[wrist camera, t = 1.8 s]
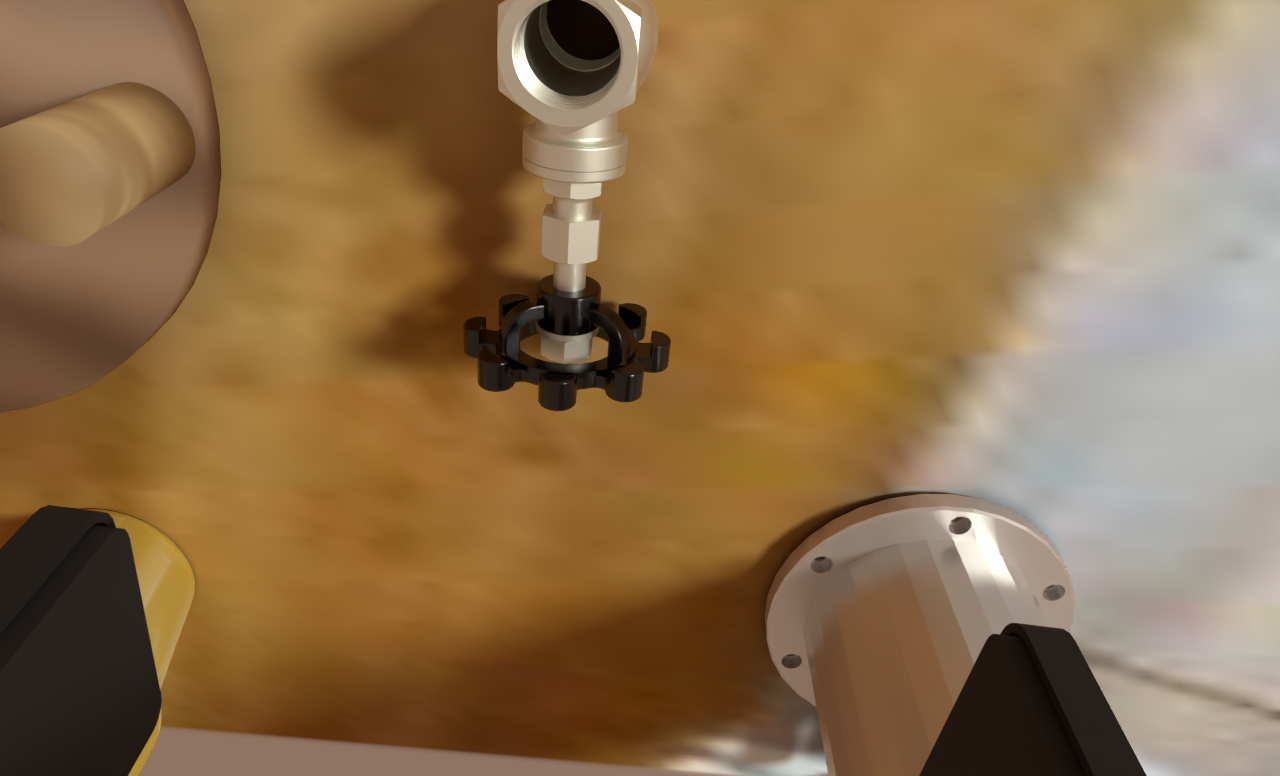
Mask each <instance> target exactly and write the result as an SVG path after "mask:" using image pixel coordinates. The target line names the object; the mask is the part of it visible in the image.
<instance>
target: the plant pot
mask: <svg viewBox="0 0 1280 776" xmlns="http://www.w3.org/2000/svg"><path fill="white" fill-rule="evenodd" d="M83 510H91V511H100V512H106V513H108V514H109V515H110V516H111V517H112V518H113V520H114V523H115V526H116V528H122V529H125V530H126V531H127V532H128V534H129V537H130V541H131V546H132V551H133V556H134V561H135V566H136V571H137V576H138V581H139V586H140V591H141V596H142V601H143V606H144V611H145V616H146V621H147V626H148V631H149V636H150V641H151V646H152V651H153V656H154V661H155V666H156V671H157V676H158V681H159V686H160V690H161V687H162V684H163V682H164V679H165V676H166V673H167V670H168V667H169V664H170V661H171V659H172V656H173V653H174V650H175V648H176V645H177V642H178V639H179V636H180V634H181V631H182V628H183V625H184V623H185V620H186V617H187V615H188V612H189V609H190V606H191V604H192V600H193V597H194V591H195V580H194V575H193V572H192V569H191V567H190V565H189V562H188V561H187V559H186V558H185V556H184V554H183V553H182V552H181V551H180V549H179V548H178V547H177V546H176V545H175V544H174V543H173V542H172V541H171V540H170V539H169V538H168V537H166V536H165V535H164V534H163V533H161V532H160V531H158V530H157V529H156V528H154V527H152V526H151V525H149V524H147V523H145V522H143V521H141V520H139V519H136V518H134V517H131V516H129V515H126V514H122V513H118V512H114V511H108V510H101V509H83ZM161 720H162V709H161V710H160V715H159V718H158V721H157V724H156V727H155V729H154V731H153V733H152V735H151V737H150V738H149V740H148V742H147V743H146V745H145V747H144V749H143V750H142V752H141V754H140V756H139V757H138V759H137V761H136V763H135V764H134V766H133V768H132V770H131V771H130V773H129V775H128V776H138V775H139V773H140V772H141V769H142V768H143V766H144V764H145V762H146V761H147V759H148V757H149V755H150V753H151V751H152V749H153V747H154V745H155V743H156V740H157V738H158V735H159V732H160V727H161Z"/></svg>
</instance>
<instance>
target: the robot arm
mask: <svg viewBox="0 0 1280 776" xmlns="http://www.w3.org/2000/svg"><path fill="white" fill-rule="evenodd" d="M1074 607H1075V597H1074V590H1073V584H1072V579H1071V577H1070V575H1069V573H1068V571H1067V569H1066V566H1065V564H1064V562H1063V560H1062V559H1061V557H1060V555H1059V554H1058V552H1057V551H1056V549H1055V548H1054V546H1053V544H1052V543H1051V541H1050V540H1049V538H1048V537H1047V536H1046V535H1045V534H1044V533H1043V532H1041V531H1040V530H1039V529H1038V528H1037V527H1036V526H1035V525H1034V524H1033V523H1032V522H1031V521H1029V520H1027V519H1026V518H1024V517H1022V516H1021V515H1019V514H1017V513H1015V512H1014V511H1012V510H1010V509H1009V508H1006V507H1003V506H1000V505H997V504H994V503H992V502H989V501H986V500H983V499H979V498H972V497H966V496H960V495H954V494H917V495H910V496H903V497H896V498H890V499H886V500H883V501H879V502H876V503H873V504H869V505H866V506H862V507H859V508H857V509H855V510H853V511H851V512H849V513H847V514H844V515H842V516H840V517H838V518H836V519H834V520H832V521H830V522H829V523H827V524H826V525H825V526H823V527H822V528H820V529H819V530H817V531H816V532H814V533H813V534H811V535H810V536H809V537H807V538H806V539H805V540H804V541H803V542H802V543H801V544H800V545H799V546H798V547H797V548H796V549H795V550H794V551H793V552H792V553H791V554H790V555H789V557H788V558H787V559H786V561H785V562H784V564H783V565H782V567H781V568H780V569H779V571H778V572H777V574H776V576H775V578H774V581H773V583H772V585H771V588H770V590H769V593H768V595H767V602H766V609H765V626H766V637H767V643H768V647H769V651H770V655H771V659H772V661H773V663H774V665H775V666H776V668H777V670H778V672H779V674H780V676H781V677H782V678H783V680H784V681H785V682H786V683H787V684H788V685H789V686H790V687H791V688H792V689H793V690H794V692H795V693H796V694H798V695H799V696H801V697H802V698H803V699H805V700H806V701H808V702H809V703H810V704H812V705H813V706H815V707H816V708H817V714H818V719H819V725H820V730H821V736H822V742H823V747H824V753H825V759H826V764H827V770H828V775H827V776H1146V774H1145V772H1144V770H1143V768H1142V766H1141V765H1140V763H1139V761H1138V759H1137V757H1136V755H1135V753H1134V751H1133V749H1132V748H1131V746H1130V744H1129V742H1128V740H1127V738H1126V736H1125V734H1124V732H1123V731H1122V729H1121V727H1120V725H1119V723H1118V721H1117V719H1116V717H1115V715H1114V713H1113V712H1112V710H1111V708H1110V706H1109V704H1108V702H1107V700H1106V698H1105V696H1104V695H1103V693H1102V691H1101V689H1100V687H1099V685H1098V683H1097V681H1096V679H1095V678H1094V676H1093V674H1092V672H1091V670H1090V668H1089V666H1088V664H1087V662H1086V660H1085V659H1084V657H1083V655H1082V653H1081V651H1080V649H1079V647H1078V645H1077V643H1076V642H1075V640H1074V639H1073V637H1072V636H1071V634H1070V633H1069V631H1070V628H1071V626H1072V623H1073V616H1074ZM161 702H162V700H161V692H160V686H159V681H158V676H157V671H156V666H155V661H154V656H153V651H152V646H151V641H150V636H149V631H148V626H147V621H146V616H145V611H144V606H143V601H142V596H141V591H140V586H139V581H138V576H137V571H136V566H135V561H134V556H133V551H132V546H131V541H130V537H129V534H128V532H127V531H126V530H125V529H122V528H116V526H115V523H114V520H113V518H112V517H111V516H110V515H109V514H108V513H106V512H100V511H91V510H83V509H75V508H67V507H59V506H50V505H48V506H46V507H43V508H40V509H39V510H38V511H37V512H35V513H34V514H33V515H32V516H31V517H30V518H29V519H28V520H27V521H26V522H25V523H24V525H23V526H22V527H21V528H20V529H19V530H18V531H17V532H16V533H15V534H14V535H13V536H12V537H11V538H10V539H9V540H8V541H7V543H6V544H5V545H4V546H3V547H2V548H1V549H0V776H128V775H129V773H130V771H131V770H132V768H133V766H134V764H135V763H136V761H137V759H138V757H139V756H140V754H141V752H142V750H143V749H144V747H145V745H146V743H147V742H148V740H149V738H150V737H151V735H152V733H153V731H154V729H155V727H156V724H157V721H158V718H159V715H160V710H161Z"/></svg>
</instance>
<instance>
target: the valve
mask: <svg viewBox="0 0 1280 776" xmlns="http://www.w3.org/2000/svg"><path fill="white" fill-rule="evenodd" d="M548 1H550V0H504V1H503V2H502V3H500V4H499V5H498V31H497V61H498V90H499V91H500V92H501V93H503V94H504V95H505V96H506V97H508V98H509V99H510V100H512V101H513V102H514V103H516V104H517V105H518V106H520V107H521V108H523V109H524V110H525V111H527V112H528V113H530V114H531V115H533V116H534V117H535V123H533V124H531V125H529V126H527V127H526V128H525V129H524V130H523V136H522V165H523V167H524V168H525V170H527V171H528V172H529V173H531V174H533V175H535V176H538V177H541V178H543V191H545V192H547V193H548V194H550V195H553V204H546V207H545V210H544V212H543V216H542V256H544V257H546V258H547V259H549V260H552V261H554V274H553V275H549V276H547V277H544V278H542V279H541V280H540V281H539V282H538V284H537V299H531V300H529V297H528V296H525V295H521V294H509V295H505V296H503V297H501V298H500V299H499V326H500V329H499V331H492V330H488V329H486V318H485V317H474V318H470V319H468V320H467V321H465V323H464V325H463V329H464V351H465V353H466V354H467V355H469V356H471V357H473V358H477V365H478V384H479V385H480V387H482V388H483V389H485V390H488V391H493V392H500V391H505V390H508V389H510V388H511V387H512V386H513V385H514V384H515V382H528V383H531V384H534V385H538V386H539V388H538V401H539V403H540V405H541V406H542V407H544V408H546V409H548V410H552V411H564V410H568V409H570V408H572V407H573V406H574V405H575V403H576V395H577V390H580V389H587V388H601V389H604V390H605V392H606V394H607V396H608V397H609V398H611V399H613V400H615V401H619V402H632V401H635V400H637V399H638V398H640V396H641V395H642V387H643V376H644V371H645V372H650V373H656V372H661V371H663V370H665V369H666V368H667V367H668V362H669V353H670V343H671V340H670V338H669V336H667V335H666V334H664V333H662V332H658V331H652V337H651V343H639V342H638V341H640V340H642V339H643V338H644V336H645V328H646V317H647V311H646V309H645V308H644V307H642V306H640V305H637V304H632V303H625V304H620V305H619V311H618V314H617V313H616V312H615V311H613V310H612V309H610V308H609V307H606V306H604V305H601V304H600V302H601V286H600V284H599V283H598V282H597V281H595V280H594V279H592V278H590V277H587V276H586V264H587V263H589V262H592V261H595V260H597V258H598V252H599V240H600V223H601V209H600V208H596V207H593V206H592V202H593V198H595V197H598V196H600V195H601V193H602V186H603V182H607V181H611V180H614V179H617V178H619V177H621V176H622V175H623V174H624V173H625V171H626V160H627V146H628V138H627V135H626V134H625V133H624V132H622V131H621V130H619V129H617V120H618V111H619V110H621V109H623V108H625V107H627V106H629V105H630V104H632V103H634V102H635V97H636V91H637V90H638V88H639V87H640V86H641V84H642V83H643V82H644V80H645V79H646V77H647V75H648V73H649V71H650V69H651V67H652V64H653V61H654V57H655V54H656V49H657V43H658V22H657V16H656V11H655V7H654V4H653V1H652V0H582V1H584V2H587V3H589V4H591V5H592V6H594V7H595V8H597V9H598V10H600V11H601V12H602V13H603V14H604V15H605V16H606V17H607V19H608V20H609V21H610V23H611V24H612V26H613V27H614V29H615V32H616V34H617V37H618V40H619V45H620V47H619V48H618V49H617V50H616V51H615V52H613V53H612V54H610V55H609V56H607V57H605V58H601V59H598V60H584V59H579V58H577V57H574V56H572V55H570V54H569V53H567V52H566V51H564V50H563V49H562V48H561V47H560V46H559V45H558V44H557V42H556V41H555V39H554V38H553V36H552V35H551V33H550V30H549V27H548V24H547V5H548ZM539 333H540V334H541V355H542V356H544V357H546V358H548V359H549V360H552V361H555V362H558V363H552V362H546V361H542V360H539V359H536V358H534V357H531V356H529V355H527V354H526V353H524V352H523V351H522V350H520V342H521V341H522V340H524V339H525V338H528V337H530V336H532V335H536V334H539ZM594 336H597V337H599V338H602V339H604V340H606V341H607V342H609V344H608V357H606V358H603V359H601V360H598V361H595V362H590V363H584V364H574V363H578V362H582V361H585V360H587V359H590V356H591V350H592V338H593V337H594ZM559 363H560V364H559Z"/></svg>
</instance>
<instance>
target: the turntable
mask: <svg viewBox="0 0 1280 776" xmlns="http://www.w3.org/2000/svg"><path fill="white" fill-rule="evenodd" d="M220 181H221V158H220V134H219V124H218V119H217V113H216V107H215V101H214V95H213V90H212V84H211V79H210V76H209V72H208V69H207V66H206V62H205V59H204V56H203V52H202V49H201V45H200V42H199V39H198V35H197V32H196V29H195V26H194V24H193V22H192V19H191V17H190V14H189V12H188V10H187V7H186V5H185V3H184V0H0V412H6V411H12V410H17V409H23V408H29V407H34V406H37V405H40V404H43V403H47V402H50V401H53V400H56V399H59V398H62V397H65V396H68V395H70V394H72V393H74V392H76V391H78V390H80V389H82V388H84V387H86V386H88V385H90V384H92V383H94V382H96V381H98V380H100V379H101V378H102V377H104V376H105V375H107V374H108V373H109V372H111V371H112V370H113V369H115V368H116V367H118V366H119V365H120V364H122V363H123V362H124V361H126V360H127V359H128V358H129V357H130V356H131V355H133V354H134V353H135V352H136V351H137V350H138V349H139V348H140V347H141V346H142V345H144V344H145V343H146V342H147V341H148V340H149V339H150V338H151V337H152V336H153V335H154V334H155V333H156V332H157V331H158V330H159V329H160V328H161V327H162V326H163V325H164V324H165V323H166V322H167V321H168V320H169V319H170V317H171V316H172V315H173V314H174V313H175V311H176V310H177V308H178V307H179V305H180V304H181V303H182V301H183V300H184V298H185V297H186V295H187V294H188V292H189V291H190V289H191V288H192V286H193V284H194V282H195V280H196V277H197V275H198V273H199V271H200V268H201V266H202V264H203V262H204V259H205V257H206V255H207V253H208V249H209V245H210V241H211V237H212V233H213V229H214V225H215V221H216V218H217V211H218V201H219V191H220Z"/></svg>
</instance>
